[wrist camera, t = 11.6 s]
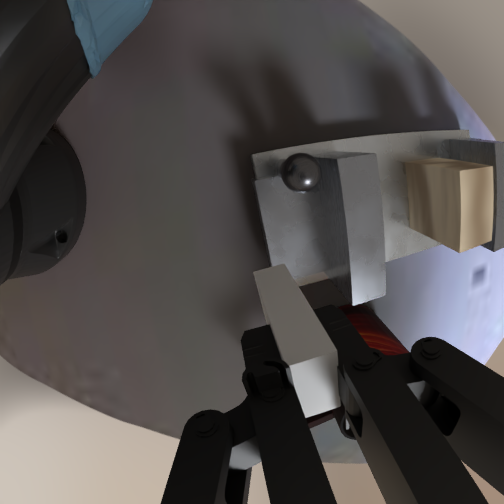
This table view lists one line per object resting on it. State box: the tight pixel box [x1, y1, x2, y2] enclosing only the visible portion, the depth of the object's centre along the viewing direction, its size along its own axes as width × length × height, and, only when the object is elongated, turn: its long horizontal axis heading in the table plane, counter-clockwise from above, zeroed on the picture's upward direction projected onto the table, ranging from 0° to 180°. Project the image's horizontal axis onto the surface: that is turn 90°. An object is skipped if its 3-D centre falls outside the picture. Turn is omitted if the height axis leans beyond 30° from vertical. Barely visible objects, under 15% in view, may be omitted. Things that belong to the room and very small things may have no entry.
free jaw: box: [251, 151, 386, 306], centre depth 22 cm, size 8×12×8 cm
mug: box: [306, 304, 409, 440], centre depth 28 cm, size 10×14×12 cm
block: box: [405, 158, 494, 253], centre depth 23 cm, size 5×7×8 cm
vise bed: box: [250, 130, 504, 287], centre depth 24 cm, size 26×13×8 cm, turn 102°
